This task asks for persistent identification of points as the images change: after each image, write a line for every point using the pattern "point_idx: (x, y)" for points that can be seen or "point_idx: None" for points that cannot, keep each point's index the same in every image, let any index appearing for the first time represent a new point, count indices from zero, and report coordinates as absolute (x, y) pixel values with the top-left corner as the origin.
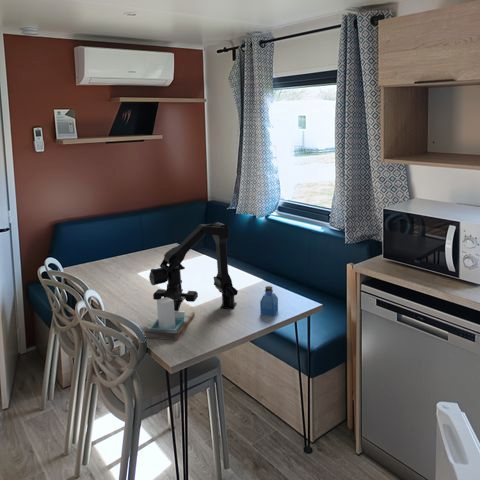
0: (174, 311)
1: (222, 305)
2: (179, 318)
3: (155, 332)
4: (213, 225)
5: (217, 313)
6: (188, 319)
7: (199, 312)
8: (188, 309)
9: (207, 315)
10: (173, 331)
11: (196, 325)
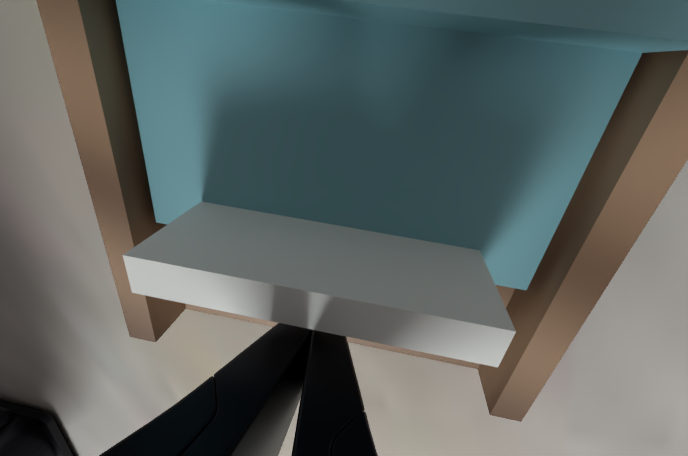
0: (326, 300)
1: (43, 437)
2: (273, 207)
3: None
4: None
5: (14, 339)
6: (77, 112)
7: (167, 373)
8: None
9: (66, 312)
10: None
11: (12, 46)
